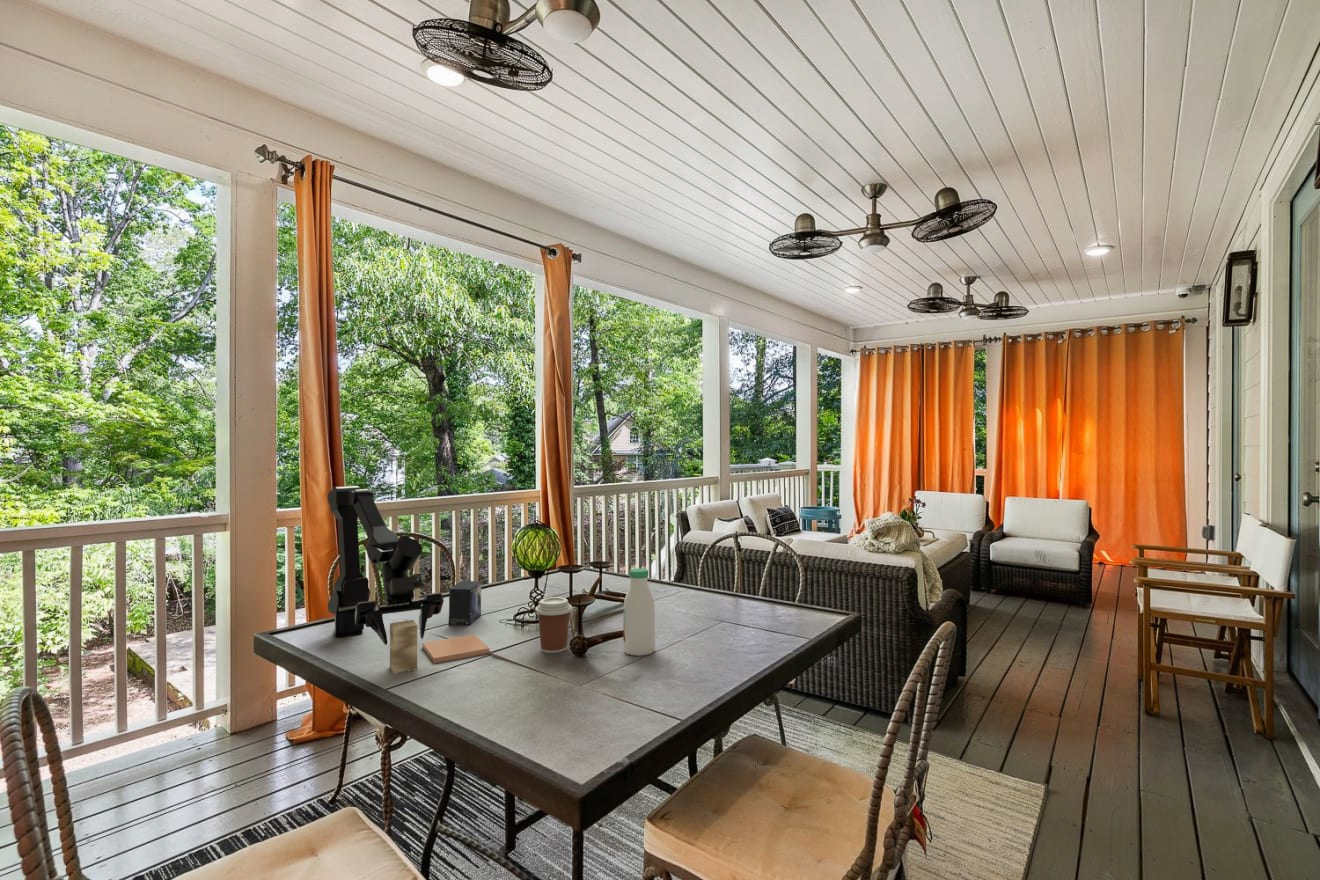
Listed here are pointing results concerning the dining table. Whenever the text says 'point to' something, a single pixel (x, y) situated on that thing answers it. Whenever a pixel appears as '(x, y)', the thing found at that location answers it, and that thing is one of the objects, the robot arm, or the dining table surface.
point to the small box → (464, 602)
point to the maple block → (403, 646)
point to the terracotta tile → (454, 648)
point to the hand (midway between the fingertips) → (404, 640)
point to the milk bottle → (639, 616)
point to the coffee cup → (553, 623)
